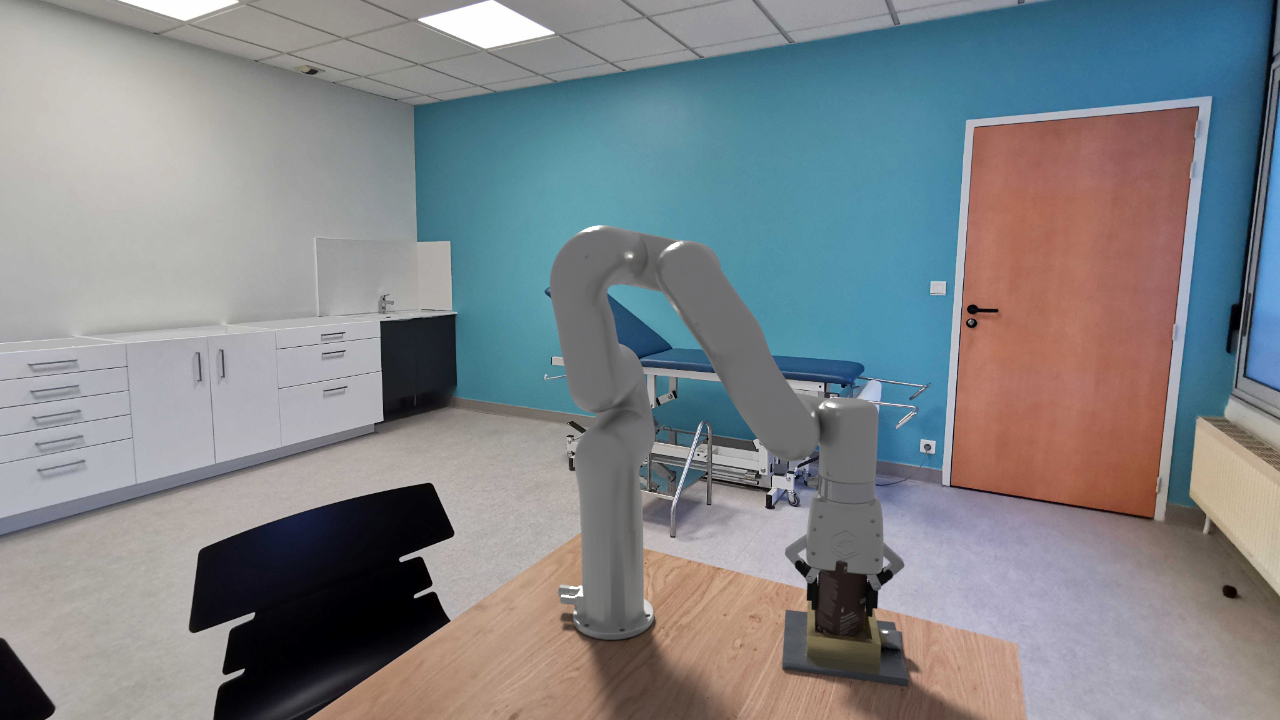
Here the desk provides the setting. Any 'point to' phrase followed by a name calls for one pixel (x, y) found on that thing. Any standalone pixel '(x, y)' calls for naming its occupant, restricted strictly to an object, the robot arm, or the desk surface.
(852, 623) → the box
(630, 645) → the desk surface
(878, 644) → the square socket base
